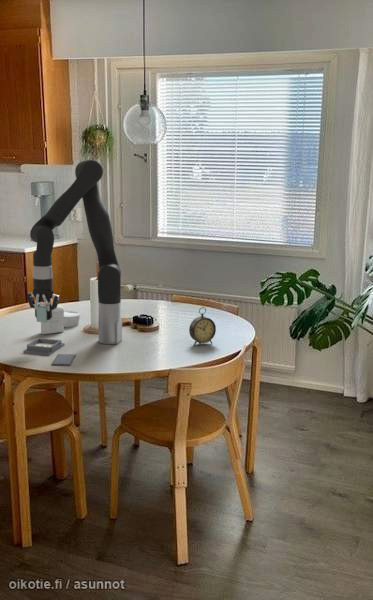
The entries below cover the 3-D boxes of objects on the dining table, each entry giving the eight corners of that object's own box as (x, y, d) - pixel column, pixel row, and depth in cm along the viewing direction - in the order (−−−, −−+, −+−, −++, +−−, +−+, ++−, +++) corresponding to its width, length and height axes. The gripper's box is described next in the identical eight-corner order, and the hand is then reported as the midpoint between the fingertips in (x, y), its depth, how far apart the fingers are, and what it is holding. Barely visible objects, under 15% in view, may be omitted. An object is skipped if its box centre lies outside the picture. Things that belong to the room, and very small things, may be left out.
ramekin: (83, 322, 277) (83, 311, 276) (76, 328, 266) (76, 317, 265) (59, 320, 278) (59, 310, 277) (52, 327, 267) (52, 316, 266)
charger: (50, 319, 236) (50, 304, 234) (45, 322, 232) (45, 307, 230) (41, 318, 237) (41, 303, 235) (36, 321, 233) (36, 306, 231)
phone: (75, 356, 230) (75, 354, 230) (70, 367, 219) (70, 364, 218) (57, 356, 230) (57, 353, 230) (51, 366, 219) (51, 364, 218)
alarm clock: (193, 347, 245) (194, 309, 241) (187, 343, 250) (188, 306, 246) (215, 344, 250) (217, 307, 246) (209, 340, 254) (211, 304, 251)
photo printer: (61, 329, 264) (61, 303, 261) (65, 332, 260) (65, 305, 257) (39, 332, 258) (38, 305, 255) (43, 335, 254) (42, 307, 252)
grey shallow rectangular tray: (64, 345, 242) (64, 339, 241) (49, 355, 229) (49, 349, 228) (40, 342, 244) (39, 336, 244) (23, 352, 231) (23, 346, 231)
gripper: (63, 276, 232) (64, 318, 236) (30, 273, 235) (31, 314, 239) (55, 279, 225) (55, 323, 229) (21, 276, 228) (22, 319, 232)
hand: (43, 318), depth 234 cm, fingers closed on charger, 4 cm apart
